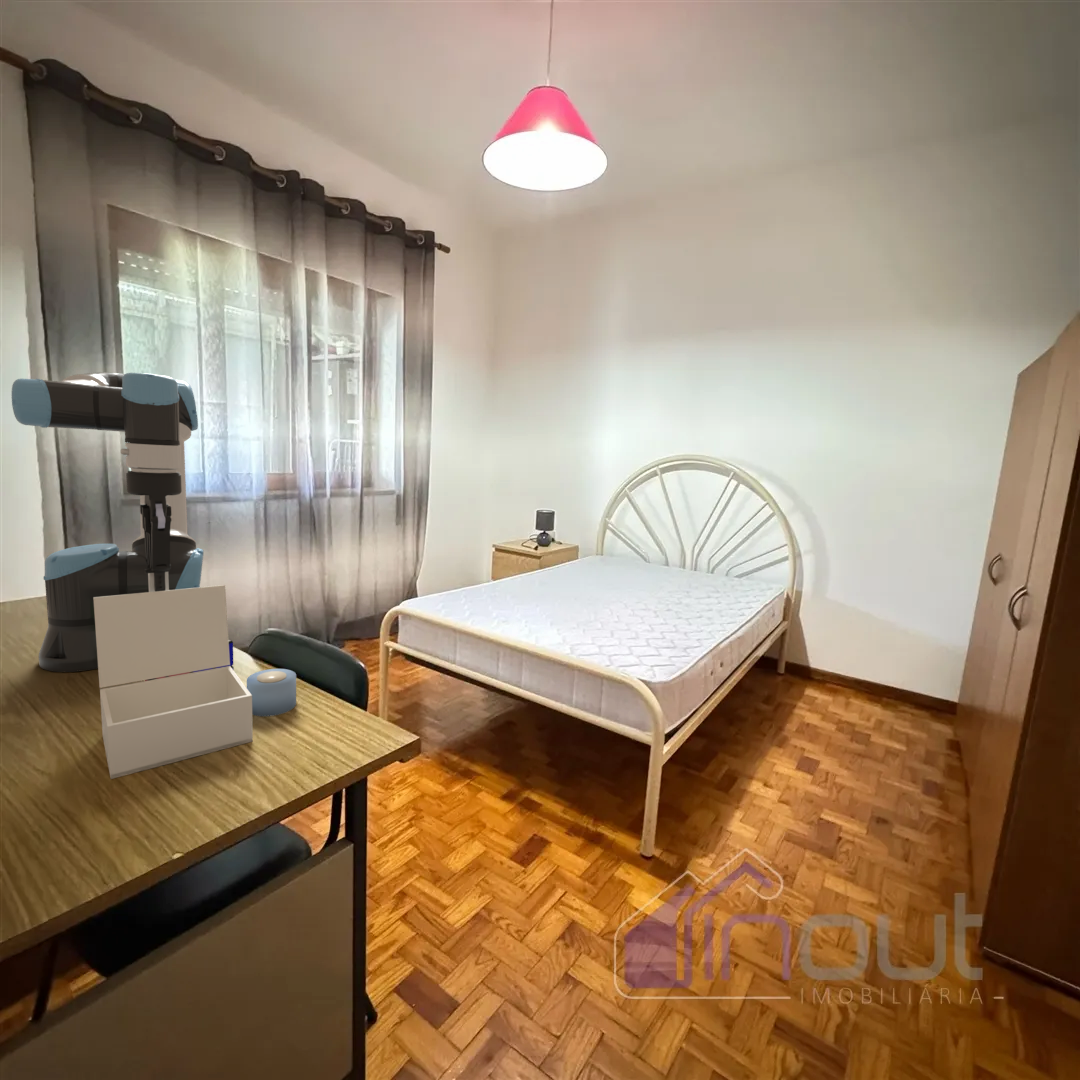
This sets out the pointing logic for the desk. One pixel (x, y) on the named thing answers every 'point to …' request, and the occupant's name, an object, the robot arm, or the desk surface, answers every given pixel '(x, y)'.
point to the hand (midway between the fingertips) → (159, 607)
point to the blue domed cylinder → (272, 691)
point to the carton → (174, 719)
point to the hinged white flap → (160, 633)
